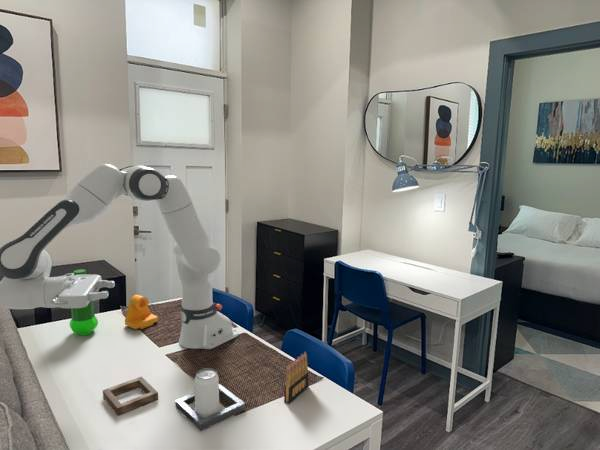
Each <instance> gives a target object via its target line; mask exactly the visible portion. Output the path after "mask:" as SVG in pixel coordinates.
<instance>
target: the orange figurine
mask: <svg viewBox="0 0 600 450" xmlns="http://www.w3.org/2000/svg"><path fill="white" fill-rule="evenodd" d="M148 305H149V299H148V298H147V297H145V296H143V295H140V294H134V295H133V296H132V297H131V298H130V301H129V303H128V306H127V311H126V315H125V318H124V325H125V326H127V327H129V328H132V329H134V330H137V329H140V330H143V329H145V328H148V327H150V326H153V325H154V323H156V322H159V321H158V317H159V316H158V315H155V314H153V313H152V312H151V310H150V308H149V307H150V306H148Z"/></svg>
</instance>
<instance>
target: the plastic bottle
mask: <svg viewBox="0 0 600 450" xmlns="http://www.w3.org/2000/svg"><path fill="white" fill-rule="evenodd" d="M72 273H74V276H75V275H80V274H87V270H86V269H83V268H82V269H81V268H80V269H76V270H74V271H73V272H72ZM70 310H71V311H70V312H71V319H70V322H69V327H70V329H71V331H72V332H73V333H74V334H76V335H78V336H87V335H90V334H92V332H93V331H94V330H95V329H96V328H97V326H98V325H99V324H98V323H99V322H98V321H99V320H98V318H97V317H96V315H95V314H96V313H95V302H94V301H90V302H89V304H88V305H87V306H86V307H83V308H70Z"/></svg>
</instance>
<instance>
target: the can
mask: <svg viewBox="0 0 600 450" xmlns="http://www.w3.org/2000/svg"><path fill="white" fill-rule="evenodd" d="M219 380H220V379H219V375H218V371H217V370H216V369H215V368H212V367H206V368H201V369H198V371H196V372H195V377H194V381H193V382H194V392H195V402H194V409H195V410H194V412H196V413H197V414H198V415H199V416H200V417H201V418H202V419H204V418H206V417H209V416H211V415H213V414H215V413H217V412H219V411H220V395H219V384H220V382H219Z"/></svg>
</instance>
